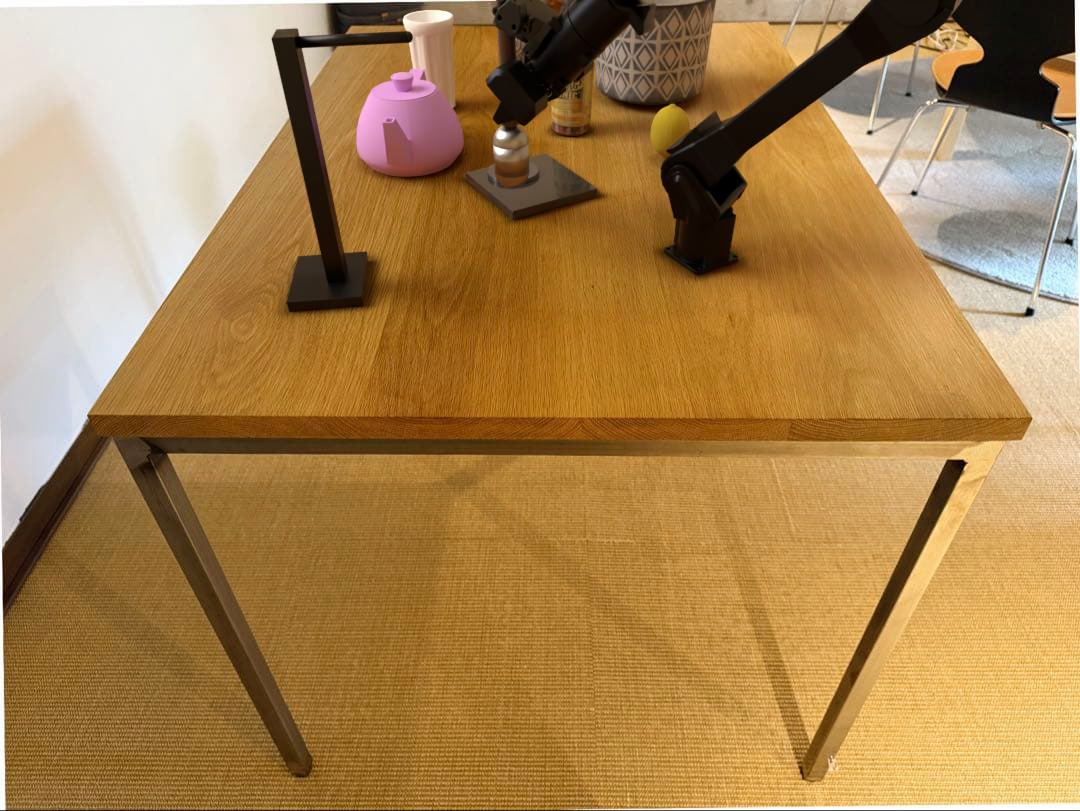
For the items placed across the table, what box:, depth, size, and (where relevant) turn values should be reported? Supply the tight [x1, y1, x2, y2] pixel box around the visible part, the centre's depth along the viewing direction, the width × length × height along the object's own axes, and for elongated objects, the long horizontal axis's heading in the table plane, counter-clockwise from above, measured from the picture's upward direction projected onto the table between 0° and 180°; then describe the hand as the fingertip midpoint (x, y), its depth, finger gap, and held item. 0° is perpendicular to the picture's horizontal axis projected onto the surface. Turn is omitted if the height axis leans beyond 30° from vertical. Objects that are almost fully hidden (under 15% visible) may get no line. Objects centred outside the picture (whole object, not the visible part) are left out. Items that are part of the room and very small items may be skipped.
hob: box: [464, 152, 599, 220], centre depth 104 cm, size 14×13×2 cm
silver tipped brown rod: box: [492, 0, 530, 189], centre depth 88 cm, size 4×4×26 cm
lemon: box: [650, 103, 691, 160], centre depth 109 cm, size 6×6×8 cm
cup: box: [402, 9, 456, 109], centre depth 124 cm, size 8×8×14 cm
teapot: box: [355, 68, 465, 178], centre depth 109 cm, size 22×16×12 cm
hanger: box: [271, 27, 413, 312], centre depth 78 cm, size 16×10×26 cm, turn 97°
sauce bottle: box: [550, 0, 595, 137], centre depth 114 cm, size 7×6×20 cm
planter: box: [595, 0, 717, 106], centre depth 127 cm, size 19×19×16 cm
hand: (499, 118), depth 91 cm, fingers closed on silver tipped brown rod, 2 cm apart
